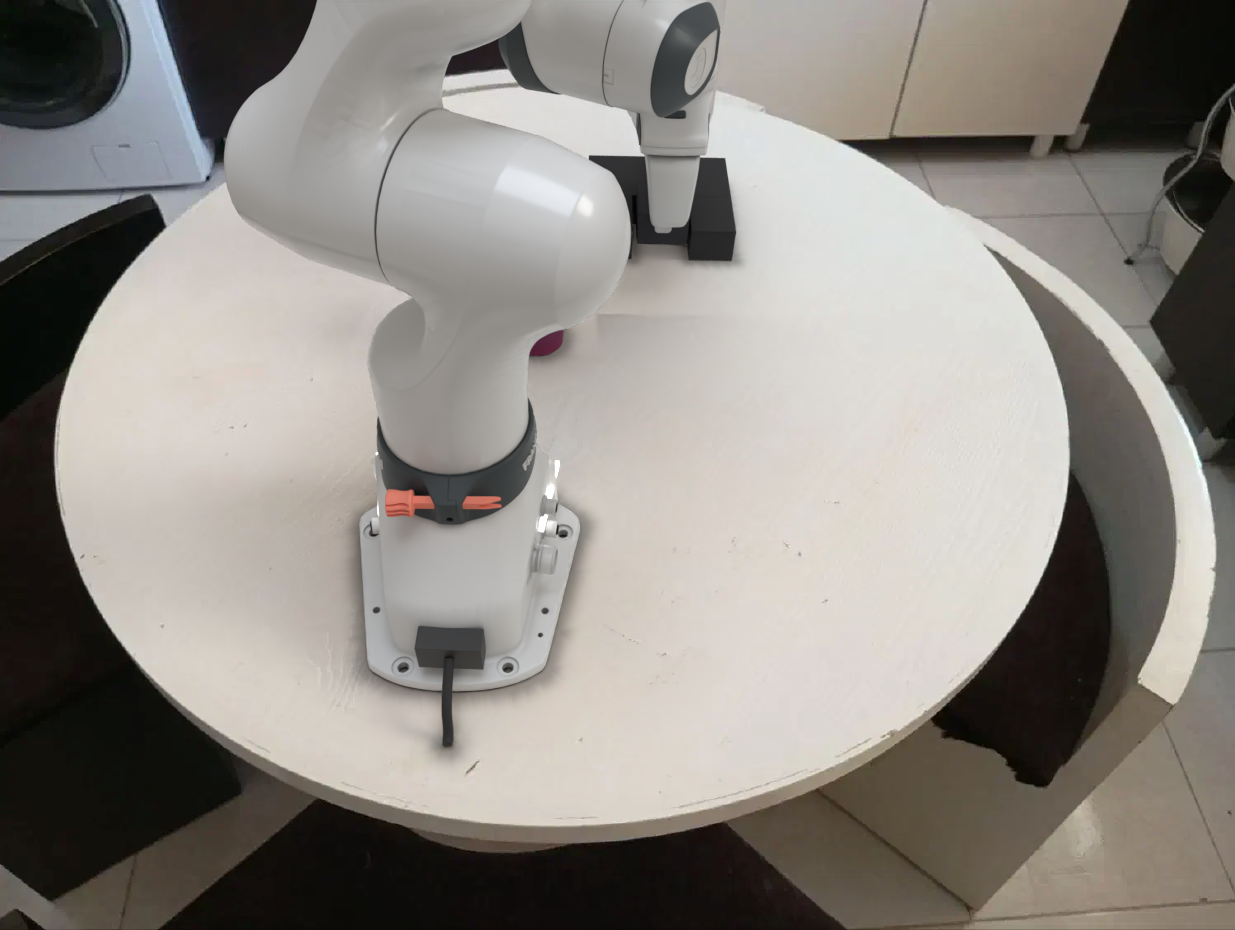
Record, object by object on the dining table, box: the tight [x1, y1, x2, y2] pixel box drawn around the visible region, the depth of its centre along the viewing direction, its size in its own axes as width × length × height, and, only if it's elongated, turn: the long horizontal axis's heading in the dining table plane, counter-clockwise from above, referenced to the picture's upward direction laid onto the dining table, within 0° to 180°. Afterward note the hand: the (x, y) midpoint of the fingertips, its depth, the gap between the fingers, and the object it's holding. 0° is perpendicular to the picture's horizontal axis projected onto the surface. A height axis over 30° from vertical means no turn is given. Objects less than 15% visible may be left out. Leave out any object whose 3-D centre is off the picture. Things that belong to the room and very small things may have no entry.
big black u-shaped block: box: [588, 154, 737, 262], centre depth 113 cm, size 14×16×4 cm
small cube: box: [635, 184, 690, 246], centre depth 109 cm, size 6×6×4 cm
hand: (661, 210), depth 109 cm, fingers closed on small cube, 5 cm apart
